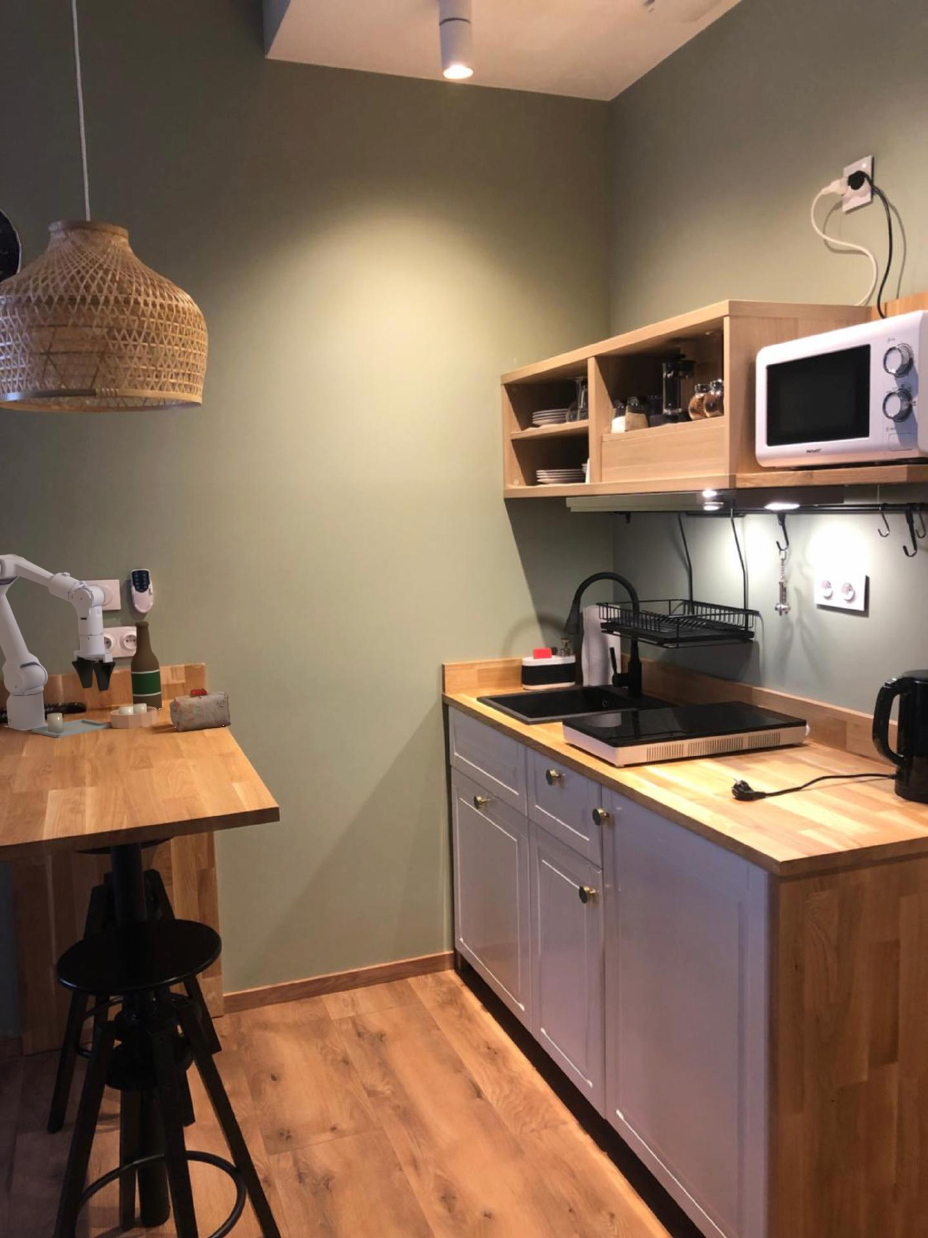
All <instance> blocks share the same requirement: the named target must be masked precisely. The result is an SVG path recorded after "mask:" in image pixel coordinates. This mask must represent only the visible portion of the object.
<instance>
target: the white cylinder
mask: <svg viewBox="0 0 928 1238" xmlns="http://www.w3.org/2000/svg"><path fill="white" fill-rule="evenodd" d="M46 718H47V719H46V720H47V723H48V732H52V733H56V734H58V733H62V732H63V723H64V722H63V721H64V720H63V713H61V712H51V713H48V714H46Z"/></svg>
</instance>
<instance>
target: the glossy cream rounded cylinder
mask: <svg viewBox="0 0 928 1238" xmlns="http://www.w3.org/2000/svg"><path fill="white" fill-rule="evenodd" d="M131 706H133V714H138V713H144V712H147V707H146V703H138V704H133V703H132V705H131Z"/></svg>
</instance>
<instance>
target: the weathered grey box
mask: <svg viewBox="0 0 928 1238" xmlns="http://www.w3.org/2000/svg"><path fill="white" fill-rule="evenodd" d="M189 692H190V694H186V695H180V696H174V697H173V700H172V701H170V703H169V709H170V710H169V712H170V713H169V714H170V721H171V723H172V725H173V727H174V728H175V729H176V730H177V731H179V732H180V733H181V732H182V733H183V732H184V733H185V732H191V730H192V731H197V730H206V729H205V728H207V729H213V728H215V727H216V728H223V727H222V726H223V725H224V727H230V726H231V725H232V722H231V713H230V705H229V704H230V703H229V695H228V694H227V693H226V692H224V691H223V690H219V691H212V692H209V691H208V692H207V690H206V689H205V688H204V687H202V688H199V686H198V687H197V686H196V687H195V688H193V689H192V690H190V691H189Z"/></svg>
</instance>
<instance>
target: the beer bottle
mask: <svg viewBox="0 0 928 1238" xmlns="http://www.w3.org/2000/svg"><path fill="white" fill-rule="evenodd" d="M134 626H135V628H136V629H135V630H136V633H135V635H136V637H135V638H136V639H135V640H136V644H135V645H136V646H135V647H136V648H135V652H134V655H133V656H132V658H131V662H130V679H131V680H130V681H131V693H132V705H133V704H138V703H146V707H155V708H156V709H157V710H158V709H159V708H163V700H162V699H163V697H162V685H161V683H162V681H161V670H160V663H159V660H158V658H157V656H156V655H155V654H154V652H153V650H152V647H151V639H150V631H149V626H150V624H149V622H148V621H145V620H144V621H136V622H135V623H134ZM158 711H159V710H158Z"/></svg>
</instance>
